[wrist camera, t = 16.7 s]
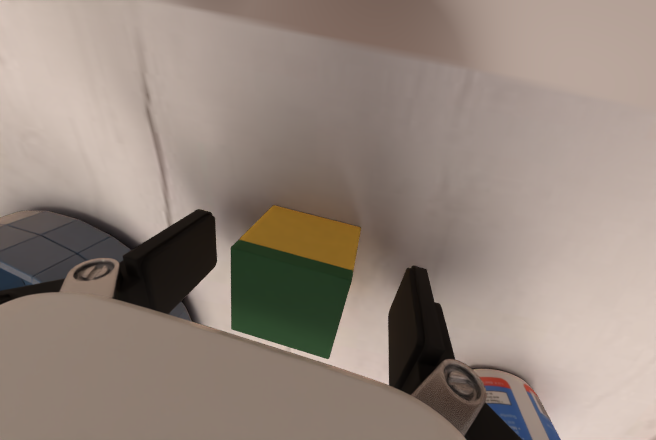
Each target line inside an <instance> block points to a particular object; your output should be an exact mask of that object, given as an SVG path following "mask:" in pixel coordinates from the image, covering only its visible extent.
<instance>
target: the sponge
mask: <svg viewBox="0 0 656 440" xmlns="http://www.w3.org/2000/svg"><path fill="white" fill-rule="evenodd" d="M360 231H361V227H357V226H353V225H349V224H346V223H342V222H338V221H334V220H330V219H326V218H322V217H318V216H314V215H310V214H306V213H302V212H298V211H295V210H291V209H287V208H283V207H279V206H275V205H273V206H272V207H271V208H270V209H269V210H268V211H267V212H266V213H265V214H264V215H263V216H262V217H261V218H260V219H259V220H258V221H257V222H256V223H255V224H254V225H253V226H252V227H251V228H250V229H249V230H248V231H247V232H246V233H245V234H244V235H243V236H242V237H241V238H240V239H239V240H238V241H237V242H236V243H235V244H234V245H233V246H232V247H231V329H232V330H236V331H239V332H242V333H245V334H248V335H252V336H255V337H258V338H261V339H265V340H268V341H271V342H274V343H278V344H281V345H284V346H287V347H290V348H294V349H297V350H300V351H303V352H307V353H310V354H313V355H316V356H320V357H323V358H326V359H329V357H330V353H331V350H332V347H333V343H334V340H335V336H336V333H337V329H338V326H339V322H340V319H341V316H342V312H343V309H344V305H345V302H346V298H347V295H348V291H349V288H350V285H351V281H352V276H353V270H354V265H355V259H356V253H357V248H358V242H359V237H360Z"/></svg>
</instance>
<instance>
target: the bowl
mask: <svg viewBox="0 0 656 440" xmlns="http://www.w3.org/2000/svg"><path fill="white" fill-rule="evenodd" d="M129 251H131V249H129V248H128V247H127V246H125V245H124V244H123V243H121V242H120V241H118V240H117V239H116V238H114V237H113V236H111V235H109V234H107V233H105V232H103V231H101V230H99V229H97V228H95V227H94V226H92V225H90V224H88V223H86V222H84V221H82V220H78V219H76V218H73V217H69V216H66V215H62V214H58V213H55V212H51V211H19V212H16V213H12V214H9V215H6V216H3V217H0V291H1V290H6V289H12V288H17V287H22V286H27V285H33V284H38V283H43V282H49V281H54V280H59V279H64V278H66V276H67V274H68V273H69V271H70V270H71V269H72V268H74V267H75V266H76V265H78V264H80V263H82V262H85V261H88V260H91V259H97V258H112V259H115V260H117V261H118V262H119V263H120V262H121V261H123V255H124V254H126V253H128V252H129ZM168 315H171V316H175V317H178V318H181V319H185V320H188V321H191V322H192V320H191V318H190V316H189V313H188V311H187V309H186V307H185V306H184V304H183V303H182V301H181V302H180V303H179V304H178V305H177V306H176V307H175V308H174V309H173V310H172V311H171V312H170V313H169V314H168Z"/></svg>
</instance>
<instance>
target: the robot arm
mask: <svg viewBox="0 0 656 440" xmlns="http://www.w3.org/2000/svg"><path fill="white" fill-rule="evenodd" d="M216 263H217V251H216V229H215V217H214V216H212V213H211V212H208V211H204V210H200V209H198V210H196V211H194V212H193V213H191V214H189V215H188V216H186V217H184V218H183V219H181V220H180V221H178V222H176V223H175V224H173V225H171V226H170V227H168V228H167V229H165V230H163V231H162V232H160V233H158V234H157V235H155V236H154V237H152V238H150V239H149V240H147V241H146V242H144V243H142V244H141V245H139V246H137V247H136V248H134V249H133V250H131V251H129V252H128V253H126V254H124V255H123V261H121V262H120V263H119V262H118V261H117V260H115V259H112V258H97V259H91V260H88V261H85V262H82V263H80V264H78V265H76V266H75V267H74V268H72V269H71V270H70V271H69V273H68V274H67V276H66V278H64V279H59V280H54V281H49V282H43V283H38V284H33V285H27V286H22V287H17V288H12V289H6V290H1V291H0V440H522V439H521V438H520V437H519V436H518V435H517V434H516V433H515V432H514V431H513V430H512V429H511V428H510V427H509V426H508V425H507V424H506V423H505V422H504V421H503V420H502V419H501V417H500V416H499V415H498V414H497V413H496V412H495V411H494V410H493V409H492V408H491V407H490V406H489V405H488V404H487V403H486V402H485V401H486V398H487V393H486V388H485V386H484V384H483V382H482V380H481V379H480V377H479V376H478V375H477V374H476V373H475V372H474V371H473V369H471V368H470V367H469V366H467V365H466V364H464V363H462V362H460V361H458V360H455V357H454V353H453V349H452V345H451V341H450V338H449V334H448V330H447V326H446V322H445V319H444V315H443V311H442V307H441V305H440V304H439V303H436V302H434V298H433V294H432V290H431V286H430V281H429V277H428V273H427V269H424V268H421V267H417V266H412V268H407V269H406V272H405V274H404V276H403V279H402V281H401V284H400V286H399V289H398V291H397V293H396V296H395V298H394V301H393V303H392V305H391V308H390V311H389V316H388V330H389V385H386V384H384V383H381V382H379V381H376V380H373V379H370V378H367V377H364V376H361V375H358V374H355V373H353V372H350V371H347V370H344V369H341V368H338V367H335V366H332V365H328V364H325V363H322V362H319V361H316V360H313V359H309V358H306V357H303V356H300V355H297V354H294V353H291V352H287V351H284V350H281V349H278V348H275V347H272V346H268V345H265V344H262V343H259V342H256V341H252V340H249V339H246V338H243V337H240V336H236V335H233V334H230V333H227V332H224V331H220V330H217V329H214V328H211V327H207V326H204V325H201V324H198V323H194V322H191V321H188V320H185V319H181V318H178V317H175V316H171V315H168V314H169V313H170V312H171V311H172V310H173V309H174V308H175V307H176V306H177V305H178V304H179V303H180V302H181V301H182V300H183V299H184V298H185V297H186V296H187V295H188V294H189V293H190V292H191V291H192V290H193V289H194V288H195V287H196V286H197V285H198V284H199V282H200V281H201V280H202V279H203V278H204V277H205V276H206V275H207V274H208V273H209V272H210V271H211V270H212V269H213V268H214V267H215V265H216Z"/></svg>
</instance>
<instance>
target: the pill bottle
mask: <svg viewBox="0 0 656 440" xmlns="http://www.w3.org/2000/svg"><path fill="white" fill-rule="evenodd" d="M473 371H474V372H475V373H476V374H477V375H478V376H479V377H480V379H481V380H482V382H483V384H484V386H485V388H486V393H487V398H486V401H485V402H486V403H487V404H488V405H489V406H490V407H491V408H492V409H493V410H494V411H495V412H496V413H497V414H498V415H499V416H500V417H501V419H502V420H503V421H504V422H505V423H506V424H507V425H508V426H509V427H510V428H511V429H512V430H513V431H514V432H515V433H516V434H517V435H518V436H519V437H520V438H521V439H522V440H561V439H560V438H559V436H558V434H557V432H556V430H555V428H554V426H553V424H552V422H551V420H550V418H549V416H548V415H547V413H546V411H545V409H544V407H543V405H542V403H541V401H540V399H539V398H538V396H537V394H536V393H535V392H534V390H533V389H532V388H531V387H530V386H529V385H528V384H527V383H526V382H525V381H523V380H522V379H520V378H518V377H516V376H514V375H512V374H510V373H507V372H503V371H499V370H493V369H473Z"/></svg>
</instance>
